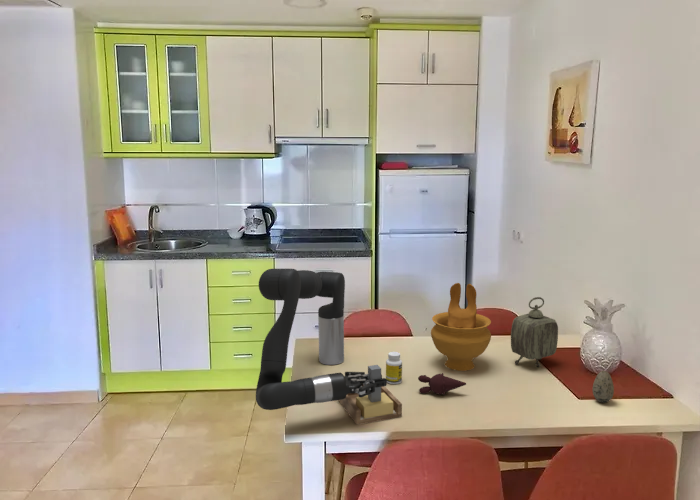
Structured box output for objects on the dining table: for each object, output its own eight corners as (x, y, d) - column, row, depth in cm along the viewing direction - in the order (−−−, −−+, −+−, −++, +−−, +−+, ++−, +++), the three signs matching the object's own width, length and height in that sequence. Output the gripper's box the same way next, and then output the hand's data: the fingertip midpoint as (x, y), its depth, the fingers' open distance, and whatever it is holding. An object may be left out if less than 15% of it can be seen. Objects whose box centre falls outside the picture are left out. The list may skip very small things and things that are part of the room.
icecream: (465, 370, 183) (418, 372, 186) (465, 374, 176) (417, 375, 178) (466, 392, 183) (419, 393, 185) (467, 396, 175) (418, 397, 178)
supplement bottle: (400, 385, 188) (401, 357, 186) (384, 384, 189) (384, 356, 187) (402, 378, 193) (403, 351, 191) (386, 377, 194) (387, 350, 192)
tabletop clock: (539, 357, 211) (543, 292, 207) (558, 365, 203) (562, 298, 199) (509, 364, 205) (512, 296, 201) (527, 372, 197) (530, 303, 193)
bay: (337, 398, 178) (336, 380, 177) (378, 391, 183) (378, 374, 181) (356, 424, 161) (356, 404, 160) (401, 416, 166) (402, 397, 165)
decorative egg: (611, 407, 171) (613, 376, 169) (590, 403, 174) (592, 372, 172) (614, 400, 176) (616, 369, 174) (593, 395, 179) (595, 365, 177)
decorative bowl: (423, 371, 199) (425, 288, 193) (437, 351, 218) (439, 275, 213) (484, 380, 191) (488, 294, 186) (493, 358, 210) (497, 279, 205)
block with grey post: (355, 408, 169) (355, 364, 166) (383, 403, 172) (384, 361, 169) (364, 418, 162) (364, 373, 160) (393, 413, 165) (393, 369, 163)
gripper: (335, 385, 154) (393, 376, 159) (320, 366, 167) (374, 358, 172) (335, 411, 155) (393, 401, 161) (320, 390, 168) (374, 382, 174)
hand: (383, 379), depth 166 cm, fingers closed on block with grey post, 3 cm apart
